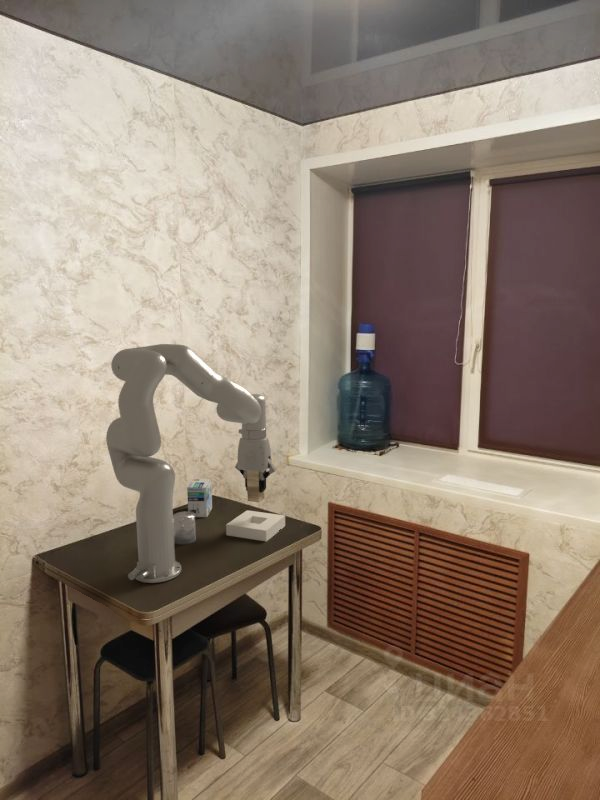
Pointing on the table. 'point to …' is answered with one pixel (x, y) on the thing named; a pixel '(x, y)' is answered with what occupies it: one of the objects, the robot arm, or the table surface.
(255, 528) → the socket block
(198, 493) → the light bulb box
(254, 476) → the square peg
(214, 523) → the table surface
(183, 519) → the clear glass cup
